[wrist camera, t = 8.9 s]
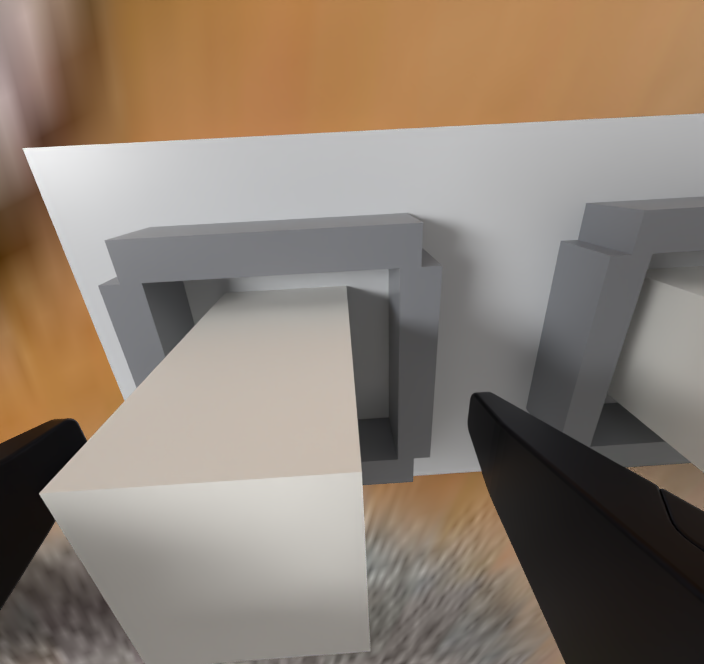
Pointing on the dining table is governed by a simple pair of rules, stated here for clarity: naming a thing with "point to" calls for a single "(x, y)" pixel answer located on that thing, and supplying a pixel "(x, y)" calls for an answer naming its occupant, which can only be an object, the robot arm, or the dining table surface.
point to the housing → (423, 269)
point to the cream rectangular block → (231, 490)
